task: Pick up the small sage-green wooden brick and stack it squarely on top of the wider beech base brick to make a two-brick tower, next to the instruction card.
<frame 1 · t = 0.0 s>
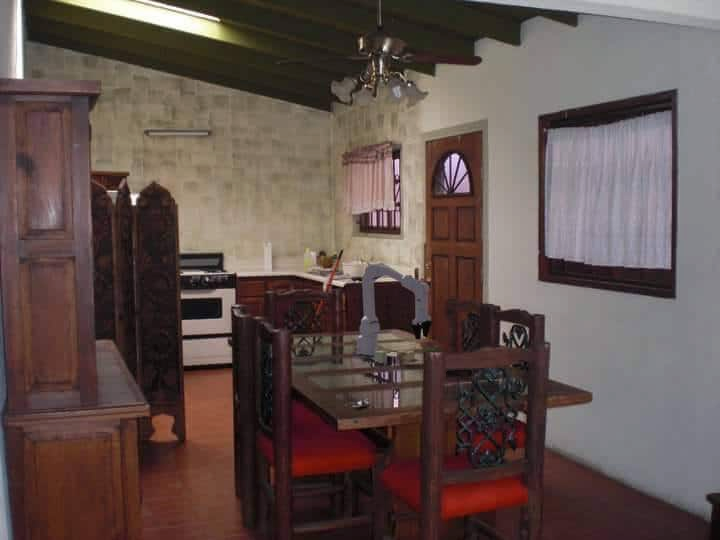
hand: (421, 338, 361), 10 cm above the table, tool pointing down, fingers open, 7 cm apart
sage brick: (380, 362, 357), on the table
beech base brick: (405, 359, 363), on the table
cupcake: (428, 354, 374), on the table
instruction card: (390, 354, 375), on the table
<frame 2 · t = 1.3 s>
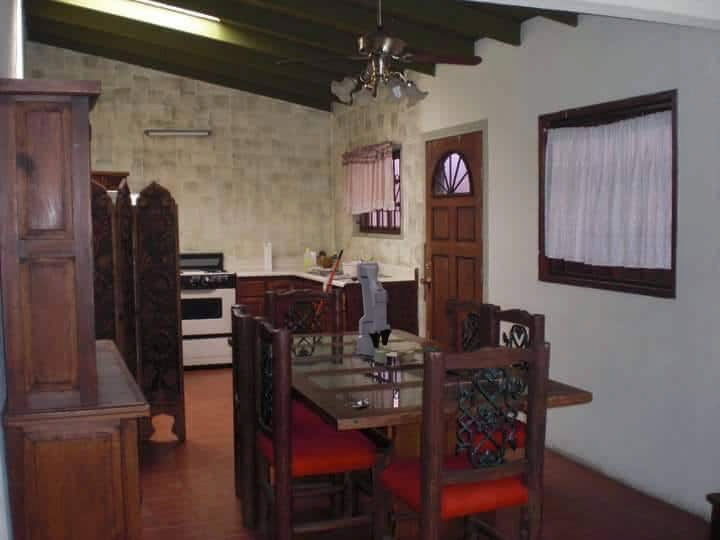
hand: (380, 346, 357), 7 cm above the table, tool pointing down, fingers open, 7 cm apart
nothing on the table moved.
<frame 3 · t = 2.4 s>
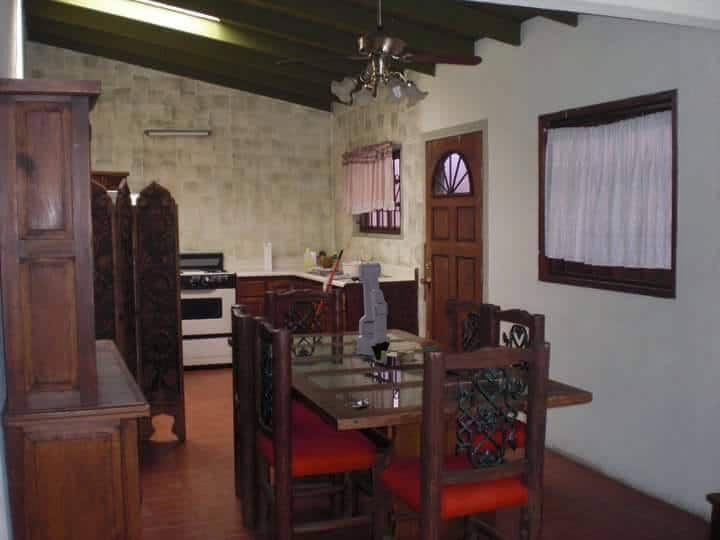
hand: (380, 359, 357), 1 cm above the table, tool pointing down, fingers closed on sage brick, 4 cm apart
sage brick: (380, 362, 357), on the table, touching gripper
everything else where it was.
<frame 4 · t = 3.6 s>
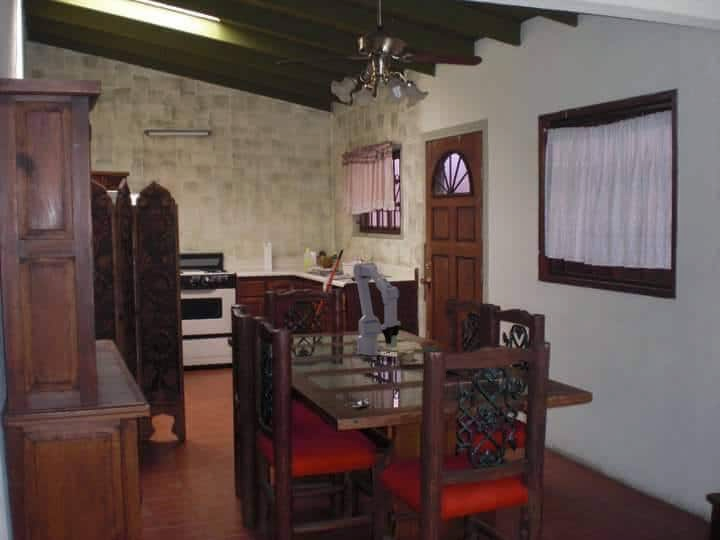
hand: (390, 342, 359), 8 cm above the table, tool pointing down, fingers closed on sage brick, 4 cm apart
sage brick: (391, 346, 359), point 7 cm above the table, touching gripper
everything else where it was.
when the fingers open (7 cm above the table, at t = 4.7 s): sage brick drops 1 cm, resting on beech base brick.
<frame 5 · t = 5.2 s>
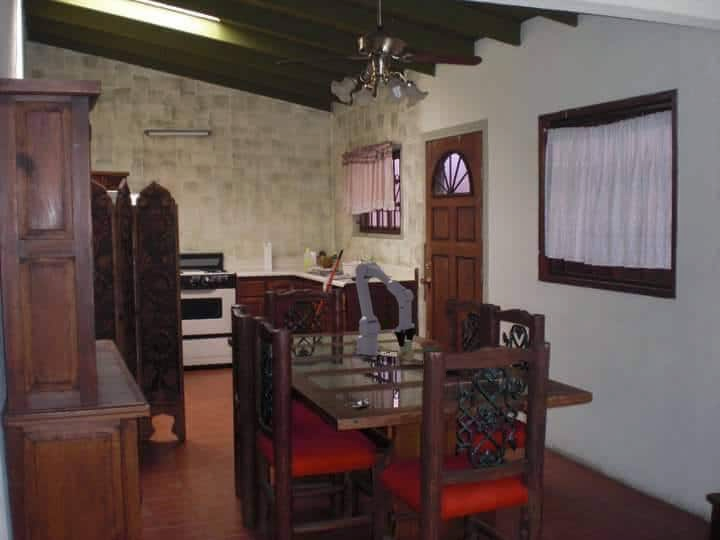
hand: (405, 345, 362), 7 cm above the table, tool pointing down, fingers open, 7 cm apart
sage brick: (405, 351, 363), point 4 cm above the table, touching beech base brick
beech base brick: (405, 359, 363), on the table, touching sage brick
everything else where it was.
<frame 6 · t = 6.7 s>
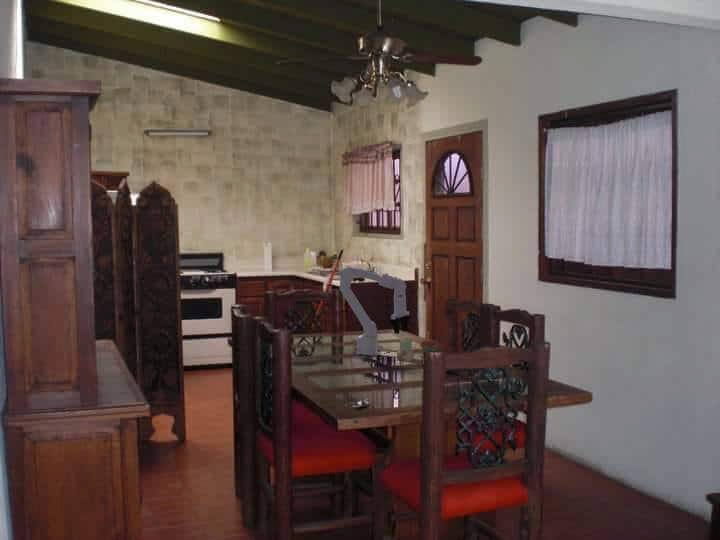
hand: (400, 332, 376), 10 cm above the table, tool pointing down, fingers open, 7 cm apart
nothing on the table moved.
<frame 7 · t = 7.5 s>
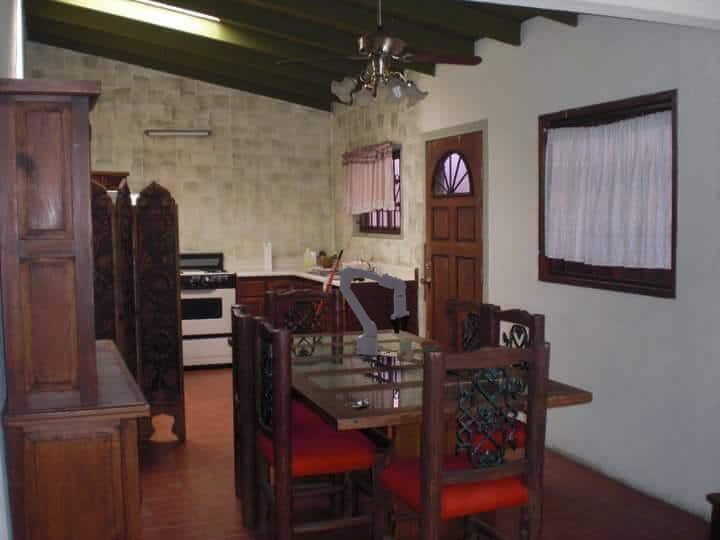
hand: (400, 332, 376), 10 cm above the table, tool pointing down, fingers open, 7 cm apart
nothing on the table moved.
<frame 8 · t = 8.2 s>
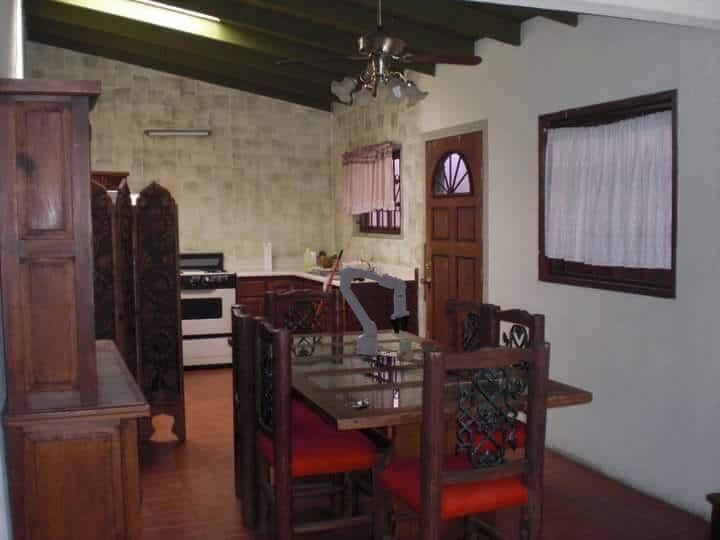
hand: (400, 332, 376), 10 cm above the table, tool pointing down, fingers open, 7 cm apart
sage brick: (405, 351, 362), point 4 cm above the table
beech base brick: (405, 359, 363), on the table
everything else where it was.
at the end: sage brick 0.2 cm off-centre on the beech base brick, point 4.0 cm above the beech base brick's base; sage brick tilted 0°; beech base brick moved 0.3 cm from its start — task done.
